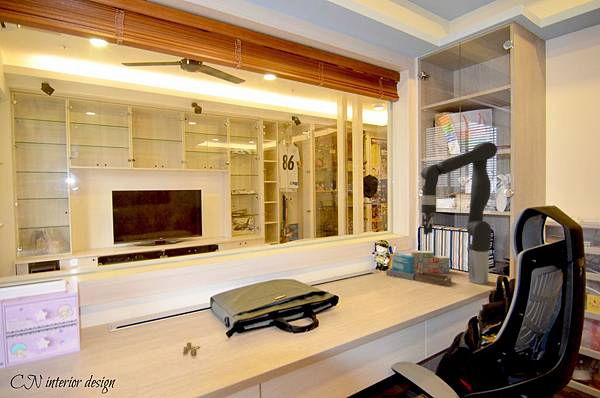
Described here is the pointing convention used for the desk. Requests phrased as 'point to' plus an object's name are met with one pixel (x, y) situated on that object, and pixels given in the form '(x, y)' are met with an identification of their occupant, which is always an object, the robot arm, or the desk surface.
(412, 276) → the grey bin
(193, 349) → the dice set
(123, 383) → the desk surface
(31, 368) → the desk surface
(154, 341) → the desk surface
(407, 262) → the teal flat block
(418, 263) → the stack of blocks
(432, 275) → the walnut bin
